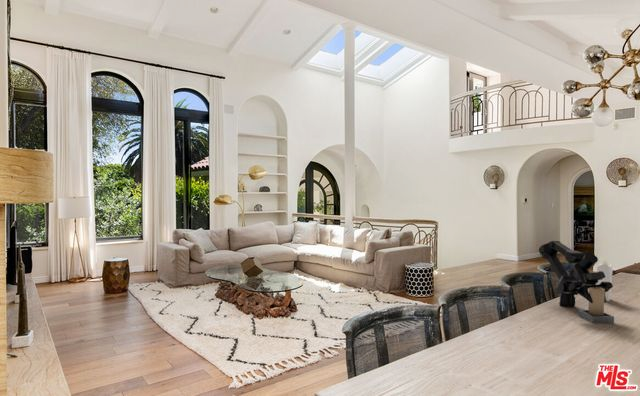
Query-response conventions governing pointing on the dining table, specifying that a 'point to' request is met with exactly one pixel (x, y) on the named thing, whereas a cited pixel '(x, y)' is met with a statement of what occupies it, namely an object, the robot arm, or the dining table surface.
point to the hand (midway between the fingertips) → (598, 302)
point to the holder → (596, 317)
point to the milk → (606, 276)
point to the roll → (596, 301)
